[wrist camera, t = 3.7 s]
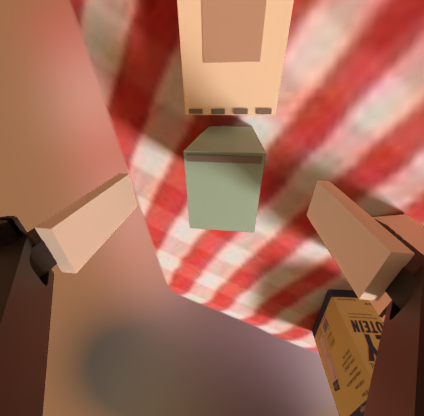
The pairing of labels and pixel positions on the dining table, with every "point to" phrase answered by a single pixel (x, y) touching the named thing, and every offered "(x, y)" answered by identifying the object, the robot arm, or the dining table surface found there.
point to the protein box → (348, 348)
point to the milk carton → (409, 231)
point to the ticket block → (232, 55)
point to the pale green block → (224, 178)
